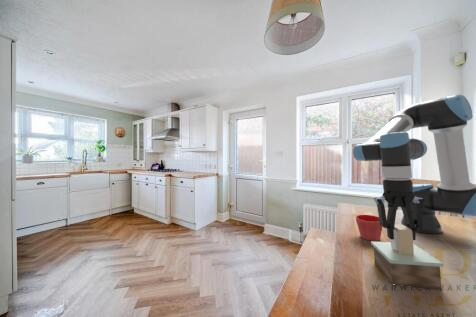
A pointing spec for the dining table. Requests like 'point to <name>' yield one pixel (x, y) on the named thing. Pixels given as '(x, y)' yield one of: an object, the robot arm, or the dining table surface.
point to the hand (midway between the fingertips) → (402, 248)
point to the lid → (405, 250)
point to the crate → (409, 273)
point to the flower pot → (369, 227)
